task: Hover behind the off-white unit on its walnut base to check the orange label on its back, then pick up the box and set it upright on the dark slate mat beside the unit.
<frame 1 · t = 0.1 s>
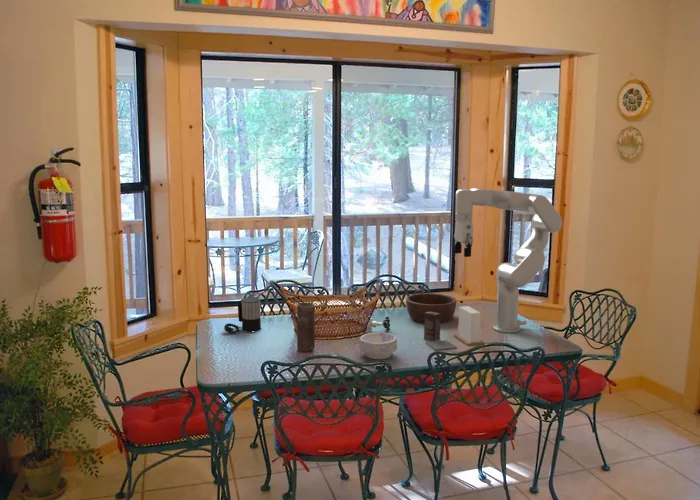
hand: (462, 254, 270), 37 cm above the table, tool pointing down, fingers open, 9 cm apart
wooden bowl: (430, 319, 301), on the table
mounted unit: (468, 340, 266), on the table
box: (431, 339, 267), on the table
slate mat: (441, 346, 258), on the table
candle: (306, 350, 253), on the table
valve: (375, 331, 280), on the table
milk frother: (243, 331, 280), on the table
white bowl: (378, 356, 245), on the table
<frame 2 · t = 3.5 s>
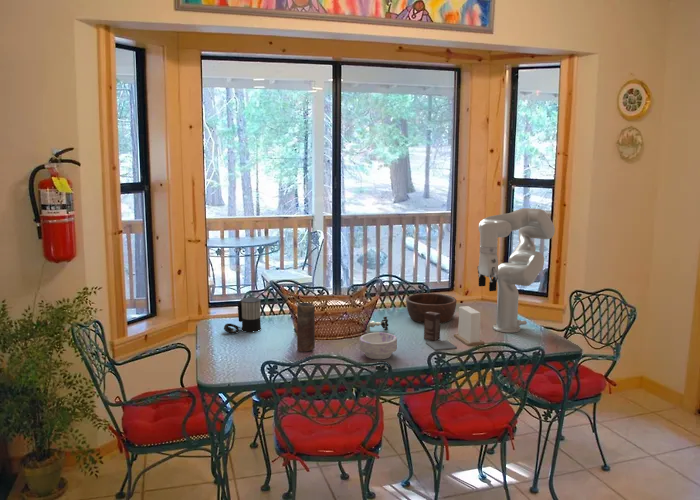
hand: (487, 288, 264), 23 cm above the table, tool pointing down, fingers open, 9 cm apart
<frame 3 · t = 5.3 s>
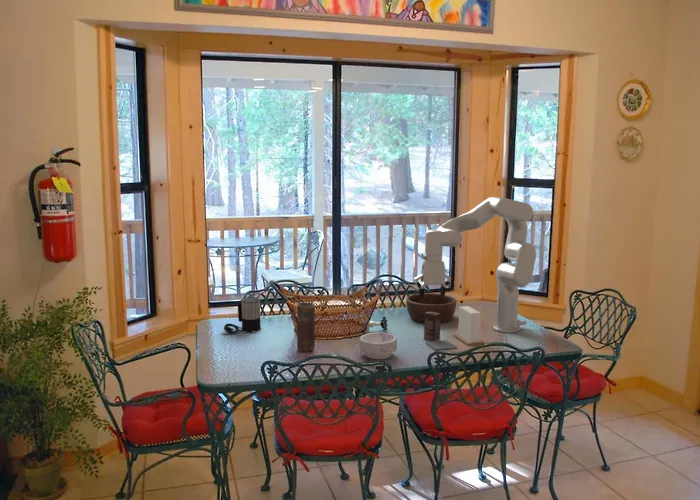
hand: (432, 296, 264), 20 cm above the table, tool pointing down, fingers open, 9 cm apart
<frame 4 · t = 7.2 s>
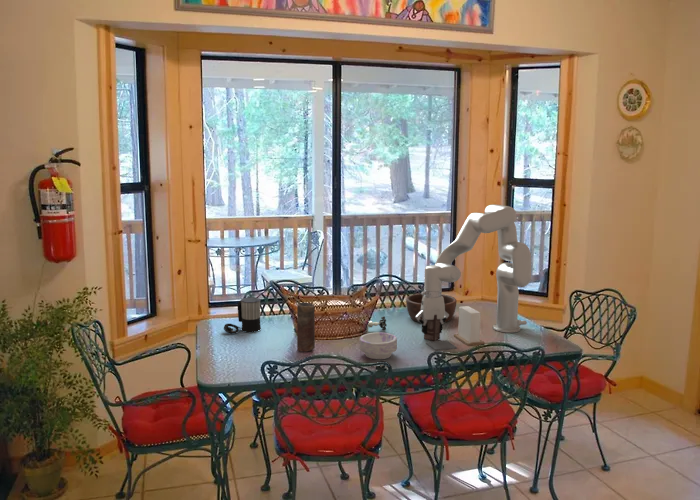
hand: (432, 332, 267), 3 cm above the table, tool pointing down, fingers closed on box, 6 cm apart
box: (431, 339, 267), on the table, touching gripper
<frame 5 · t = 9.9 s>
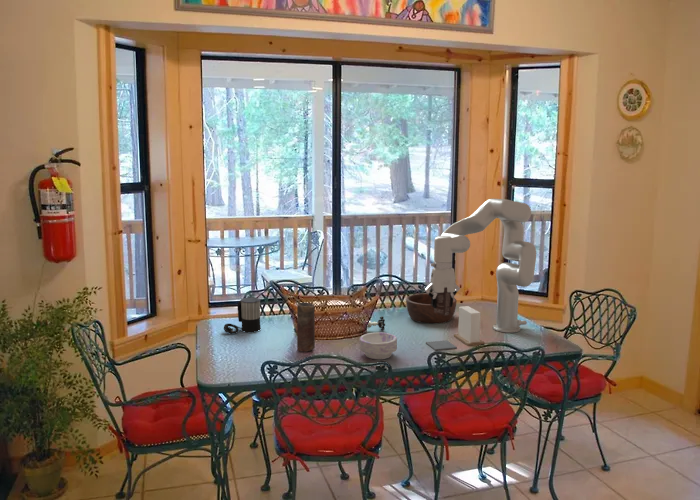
hand: (442, 306, 255), 17 cm above the table, tool pointing down, fingers closed on box, 6 cm apart
box: (441, 314, 256), point 14 cm above the table, touching gripper
when the fingers open (4 cm above the table, at t = 12.8 s): box stays where it is, resting on slate mat.
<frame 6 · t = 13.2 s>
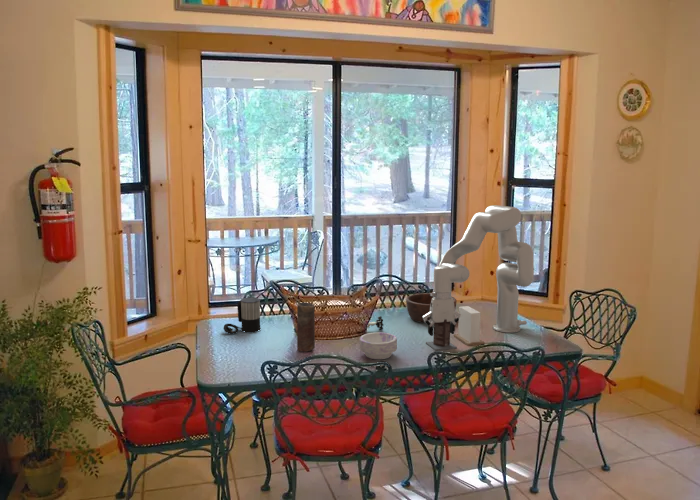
hand: (441, 334, 257), 5 cm above the table, tool pointing down, fingers open, 9 cm apart
box: (441, 344, 258), resting on slate mat
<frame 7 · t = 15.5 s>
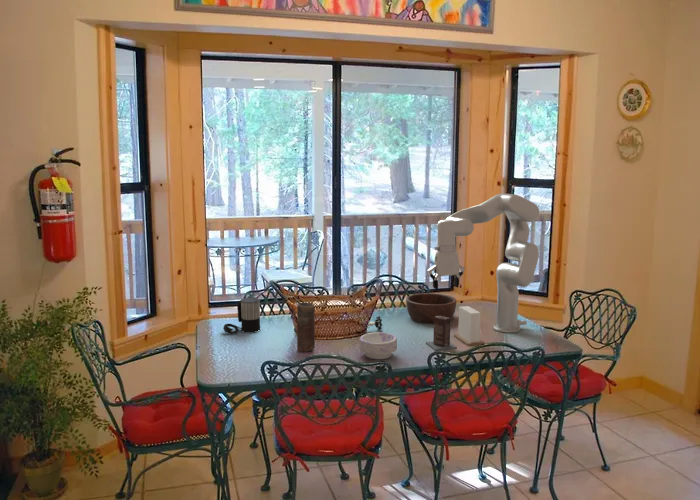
hand: (446, 287, 259), 24 cm above the table, tool pointing down, fingers open, 9 cm apart
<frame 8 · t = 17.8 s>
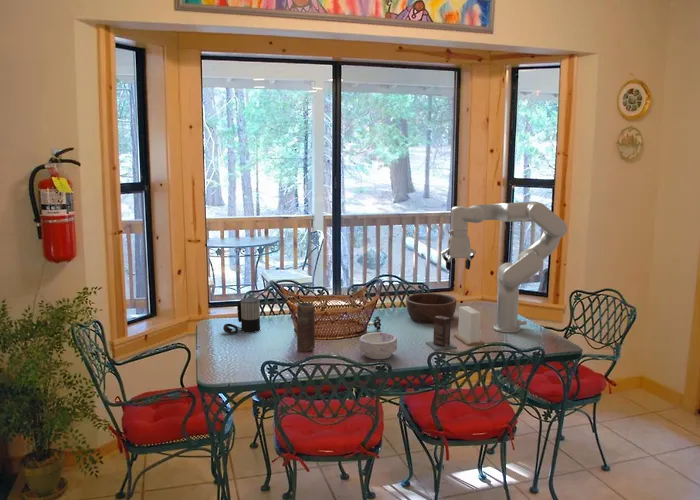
hand: (458, 269, 280), 28 cm above the table, tool pointing down, fingers open, 9 cm apart
at the end: box inside the target area on the slate mat (0.3 cm from its centre), point 0.4 cm above the slate mat's base; box tilted 0°; the gripper is holding nothing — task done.
